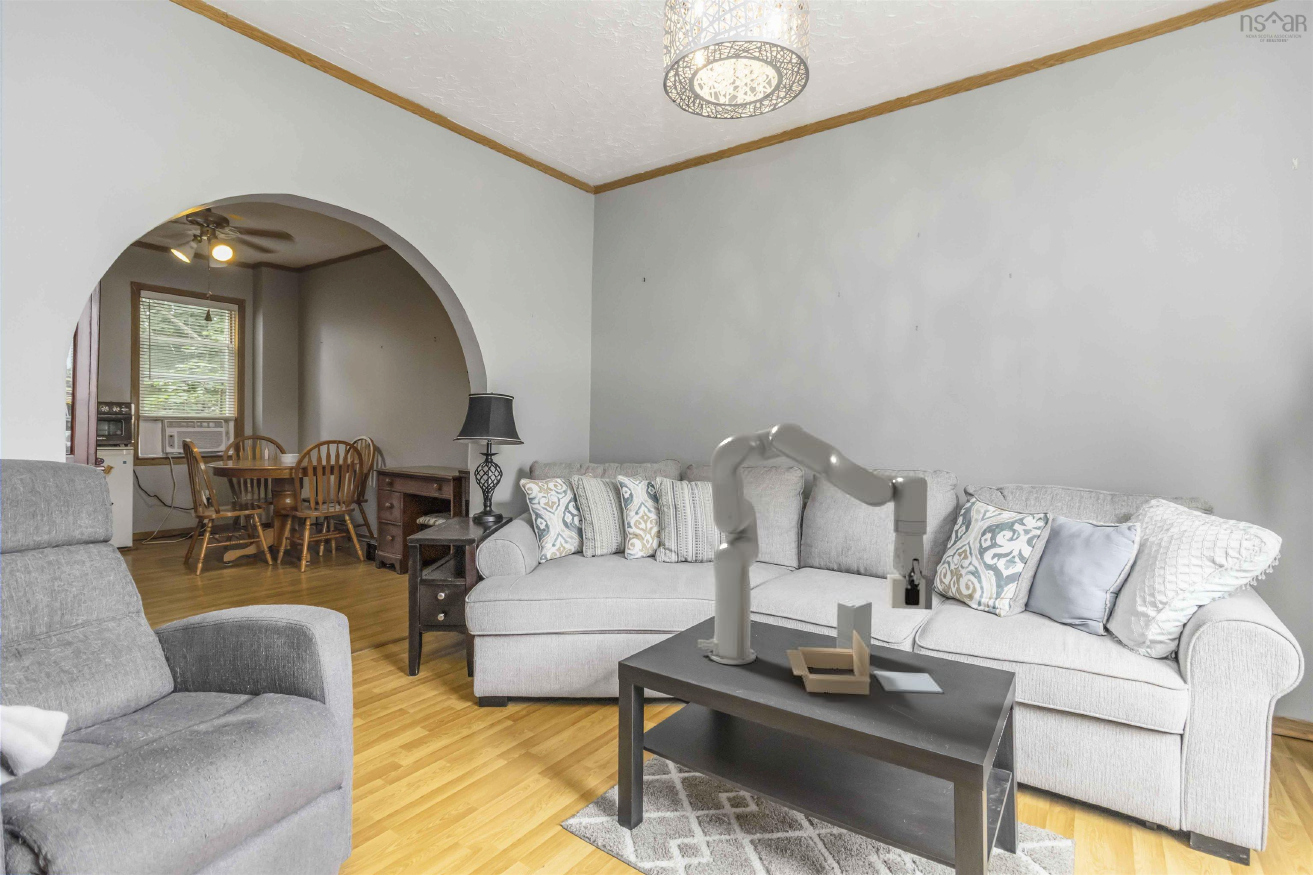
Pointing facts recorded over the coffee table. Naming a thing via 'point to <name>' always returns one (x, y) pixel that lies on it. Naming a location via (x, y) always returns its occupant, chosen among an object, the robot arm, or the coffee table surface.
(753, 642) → the coffee table surface
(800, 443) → the robot arm
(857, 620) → the skincare box
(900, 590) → the box
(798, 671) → the carton
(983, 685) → the coffee table surface
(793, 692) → the coffee table surface
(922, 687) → the felt mat
